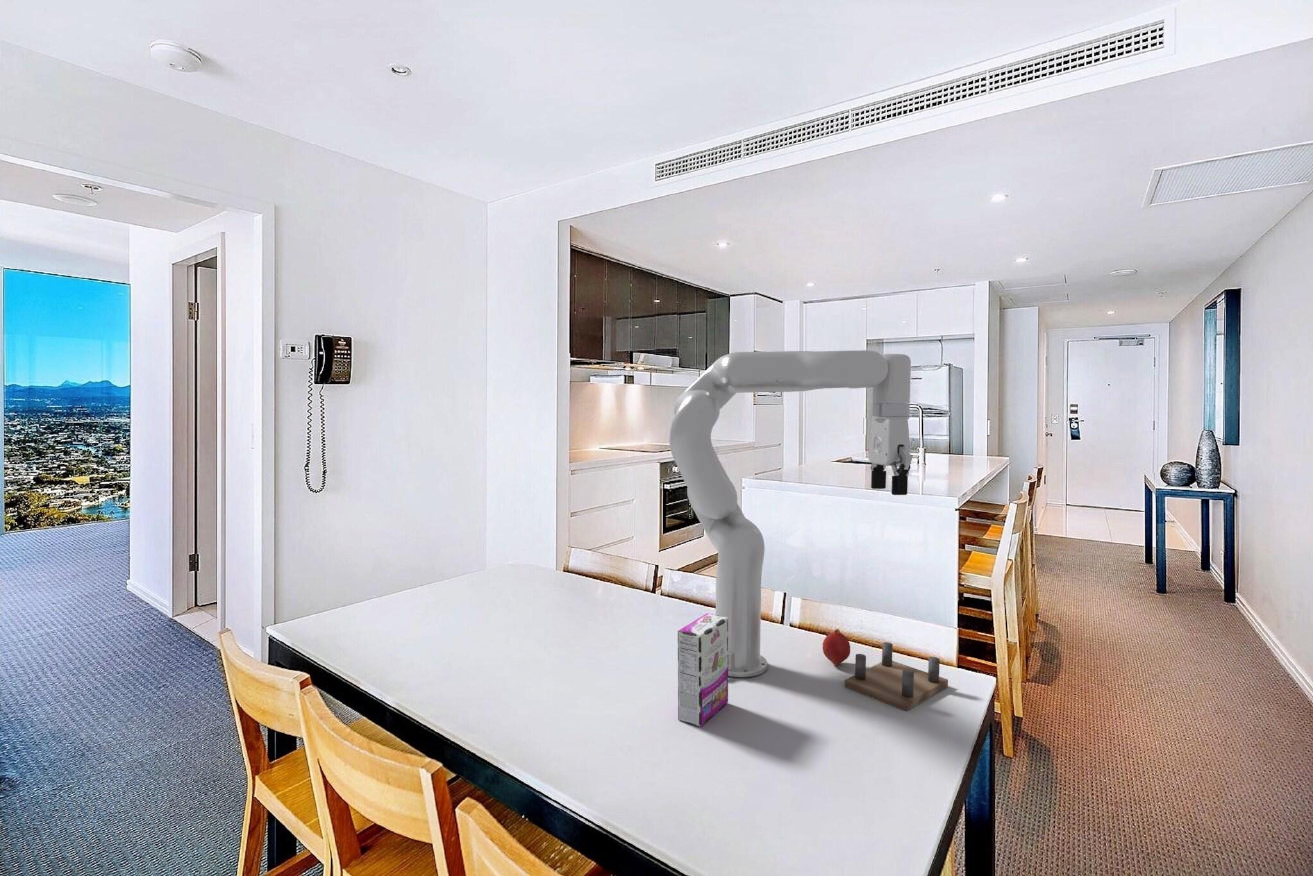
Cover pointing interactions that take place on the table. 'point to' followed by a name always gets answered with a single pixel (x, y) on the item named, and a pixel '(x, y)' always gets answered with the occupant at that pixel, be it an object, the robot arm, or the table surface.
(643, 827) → the table surface
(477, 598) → the table surface
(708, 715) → the candy bar box
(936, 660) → the peg holder
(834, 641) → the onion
